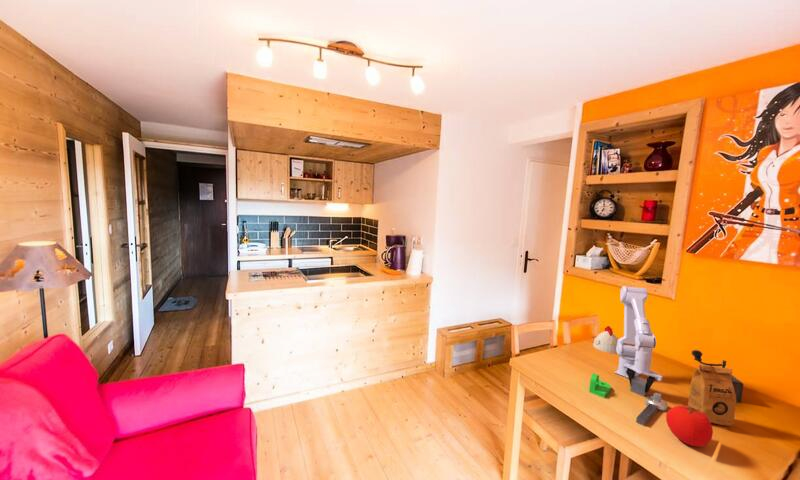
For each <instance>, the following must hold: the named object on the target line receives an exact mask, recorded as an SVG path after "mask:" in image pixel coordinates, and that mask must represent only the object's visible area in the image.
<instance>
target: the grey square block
mask: <svg viewBox="0 0 800 480" xmlns="http://www.w3.org/2000/svg"><path fill="white" fill-rule="evenodd" d="M646 386H647V378H643V377H640V376H639V375H638V376H635V377H633V378H632V381H631V386H630V390H629V391H630V392H632V393H634V394H636V395H638V396H641V397H643V398H644V397H646V395H647V394H648V393H646Z"/></svg>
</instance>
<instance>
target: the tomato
mask: <svg viewBox="0 0 800 480" xmlns="http://www.w3.org/2000/svg"><path fill="white" fill-rule="evenodd" d="M666 412H667V413H666V415H665V418H666V419H665V421H666V423H667V426H668V428H669V430H670V432H671V433H672V434H673V435H674V436H675V437H676V438H677V439H678V440H680V441H682V442H683V443H684V444H687V445H690V446H692V447H697V448H699V447H704V446H707V445H708V444H709V443H710V442H711V441H712V439H713V434H714V430H713V426H712V423H710V421H709V419H708V417H707V416H706V415H705V414H704V413H703V412H701V411H699V410H697V409H695V408H693V407H690V406H689V405H688V404H687V405H685V404H684V405H676V406H674V407H671V408H670V409H669V410H667V411H666Z"/></svg>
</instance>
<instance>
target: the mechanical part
mask: <svg viewBox="0 0 800 480" xmlns="http://www.w3.org/2000/svg"><path fill="white" fill-rule="evenodd" d="M611 388H612V387H611V384H610V383H608V382H605V381H603V380H601V379H600V375H599V374H596V373H592V374H591V375H590V381H589V390H588V392H589V393H591V394H593V395H595V396H597V397H600V398H605V399H606V397H607V395H608V394H609V393H610V392H611Z"/></svg>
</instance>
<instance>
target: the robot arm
mask: <svg viewBox="0 0 800 480" xmlns="http://www.w3.org/2000/svg"><path fill="white" fill-rule="evenodd" d="M619 292H620V293H619V294H620V296H619V297H620V303H623V306H624V308H623V315H624V317H623V336H622V337H619V338H617V339H618V341H617V346H616V351H617V354H616V355H618V356H619V359H618V369H617V370H616V371H614V374H616V375H619V376H623V377H625V378H628V381H629V385H630V387H631V381H632V378H633V377H635V376H638V377H639V375H640V374H641V375H643V376H646V380H647V386H646V393H647V394H648V393H649V392H650V390H651V387H652V385H653V384H654V382H655V381H658V382H661V381H662V380H663V375H661V374H658V373H657V372H654V371H652V370H651V365H652V364H651V363H652V357H653V349H655V348H656V346H657V339H656V336H655V334H654V333H653V332H652V328H651V325H650V320H648V318H646V312H645V311H646V310H645V303H646V301H647V299H648V296H649V295H648V290H647V289H646V288H645V287H635V286H626V285H623V286H622V287H621V289H620V291H619Z"/></svg>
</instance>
